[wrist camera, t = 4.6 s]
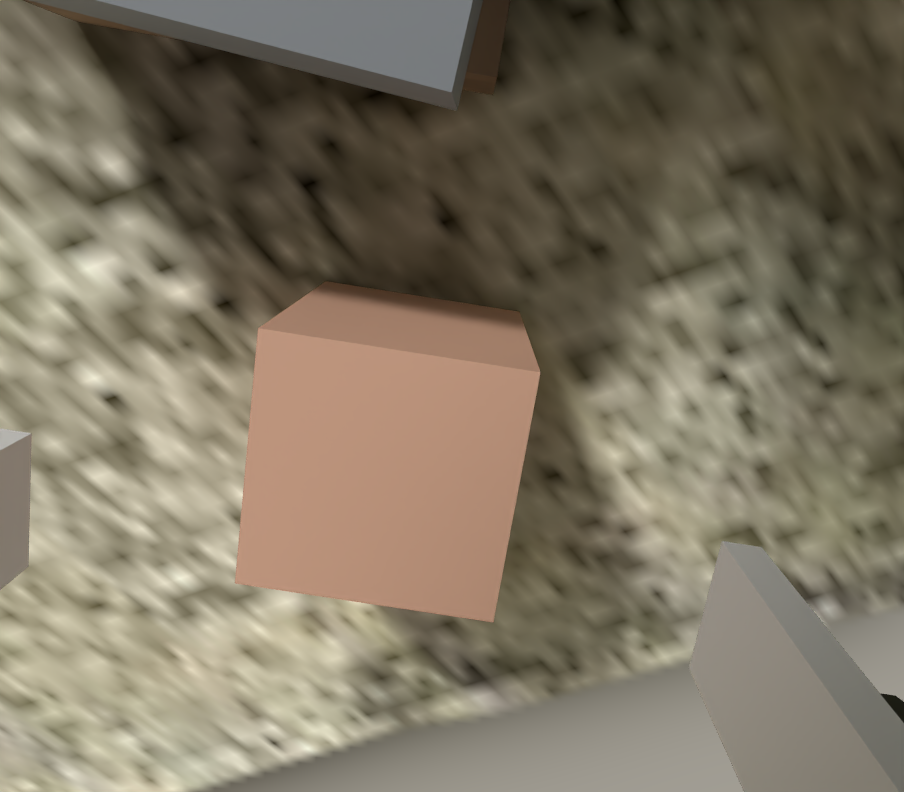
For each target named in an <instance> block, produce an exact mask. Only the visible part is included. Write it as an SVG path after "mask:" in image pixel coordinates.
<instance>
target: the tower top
mask: <svg viewBox="0 0 904 792" xmlns="http://www.w3.org/2000/svg"><path fill="white" fill-rule="evenodd" d="M30 1H34V2H37V3H41V4H45V5H49V6H53V7H57V8H61V9H64V10H68V11H72V12H76V13H80V14H84V15H88V16H92V17H95V18H99V19H103V20H107V21H111V22H115V23H119V24H123V25H126V26H130V27H134V28H138V29H142V30H146V31H150V32H153V33H157V34H161V35H165V36H169V37H173V38H177V39H181V40H184V41H188V42H192V43H196V44H200V45H204V46H208V47H212V48H215V49H219V50H223V51H227V52H231V53H235V54H239V55H242V56H246V57H250V58H254V59H258V60H262V61H266V62H270V63H273V64H277V65H281V66H285V67H289V68H293V69H297V70H300V71H304V72H308V73H312V74H316V75H320V76H324V77H328V78H331V79H335V80H339V81H343V82H347V83H351V84H355V85H359V86H362V87H366V88H370V89H374V90H378V91H382V92H386V93H389V94H393V95H397V96H401V97H405V98H409V99H413V100H417V101H420V102H424V103H428V104H432V105H436V106H440V107H444V108H448V109H451V110H455V111H457V109H458V105H459V101H460V97H461V92H462V88H463V84H464V80H465V75H466V71H467V67H468V62H469V58H470V54H471V50H472V45H473V41H474V37H475V32H476V28H477V24H478V20H479V15H480V11H481V7H482V2H483V0H30Z"/></svg>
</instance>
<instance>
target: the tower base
mask: <svg viewBox="0 0 904 792" xmlns="http://www.w3.org/2000/svg"><path fill="white" fill-rule="evenodd" d="M24 1H26V2H29V3H31V4H34V5H36V6H39V7H41V8H44V9H46V10H49V11H51V12H54V13H56V14H59V15H61V16H64V17H67V18H69V19H72V20H74V21H77V22H82V23H88V24H93V25H99V26H105V27H110V28H116V29H122V30H127V31H133V32H139V33H144V34H150V35H156V36H161V37H167V38H173V37H169V36H165V35H161V34H157V33H153V32H150V31H146V30H142V29H138V28H134V27H130V26H126V25H123V24H119V23H115V22H111V21H107V20H103V19H99V18H95V17H92V16H88V15H84V14H80V13H76V12H72V11H68V10H64V9H61V8H57V7H53V6H49V5H45V4H41V3H37V2H34V1H30V0H24ZM509 5H510V0H483V2H482V7H481V11H480V15H479V20H478V24H477V28H476V32H475V37H474V41H473V45H472V50H471V54H470V58H469V62H468V67H467V71H466V75H465V80H464V84H463V88H462V90H467V91H473V92H479V93H484V94H490V95H493V93H494V89H495V84H496V80H497V75H498V69H499V63H500V57H501V52H502V46H503V40H504V34H505V28H506V22H507V17H508V11H509ZM173 39H177V38H173ZM178 40H181V39H178Z"/></svg>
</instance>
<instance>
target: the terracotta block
mask: <svg viewBox="0 0 904 792" xmlns="http://www.w3.org/2000/svg"><path fill="white" fill-rule="evenodd" d="M540 373H541V372H540V369H539V366H538V364H537V361H536V358H535V355H534V352H533V349H532V346H531V343H530V341H529V338H528V335H527V332H526V329H525V326H524V323H523V320H522V318H521V315H520V312H518V311H512V310H505V309H499V308H493V307H486V306H480V305H474V304H467V303H461V302H455V301H448V300H442V299H436V298H429V297H423V296H417V295H410V294H404V293H398V292H391V291H385V290H379V289H372V288H366V287H360V286H353V285H347V284H341V283H334V282H328V281H325V282H324V283H323V284H321V285H320V286H318V287H317V288H315V289H314V290H312V291H311V292H310V293H308V294H307V295H305V296H304V297H302V298H301V299H300V300H298V301H297V302H295V303H294V304H292V305H291V306H289V307H288V308H287V309H285V310H284V311H282V312H281V313H279V314H278V315H276V316H275V317H274V318H272V319H271V320H269V321H268V322H266V323H265V324H264V325H262V326H261V327H259V328H258V335H257V346H256V357H255V369H254V380H253V391H252V402H251V413H250V424H249V435H248V446H247V457H246V468H245V479H244V490H243V501H242V512H241V523H240V534H239V545H238V556H237V567H236V578H235V583H236V584H243V585H249V586H256V587H263V588H269V589H276V590H282V591H289V592H296V593H302V594H309V595H315V596H322V597H329V598H335V599H342V600H349V601H355V602H362V603H368V604H375V605H382V606H388V607H395V608H401V609H408V610H415V611H421V612H428V613H434V614H441V615H448V616H454V617H461V618H467V619H474V620H481V621H487V622H493V621H494V616H495V611H496V605H497V600H498V595H499V590H500V584H501V579H502V574H503V568H504V563H505V558H506V553H507V547H508V542H509V537H510V531H511V526H512V521H513V516H514V510H515V505H516V500H517V494H518V489H519V484H520V479H521V473H522V468H523V463H524V457H525V452H526V447H527V442H528V436H529V431H530V426H531V420H532V415H533V410H534V405H535V399H536V394H537V389H538V383H539V378H540Z"/></svg>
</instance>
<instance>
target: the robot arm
mask: <svg viewBox="0 0 904 792" xmlns="http://www.w3.org/2000/svg"><path fill="white" fill-rule="evenodd" d="M31 435H32V433H26V432H20V431H13V430H7V429H0V590H1V589H2V588H3V587H4V586H6V585H7V584H8V583H9V582H10V581H12V580H13V579H14V578H15V577H16V576H18V575H19V574H20V573H21V572H22V571H24V570H25V569H26V568H27V567H28V561H29V519H30V477H31ZM689 670H690V672H691V674H692V676H693V679H694V681H695V683H696V686H697V688H698V690H699V692H700V694H701V697H702V699H703V701H704V703H705V706H706V708H707V710H708V712H709V715H710V717H711V719H712V721H713V724H714V726H715V728H716V730H717V732H718V735H719V737H720V739H721V741H722V744H723V746H724V748H725V750H726V752H727V755H728V757H729V759H730V761H731V764H732V766H733V768H734V770H735V773H736V775H737V777H738V779H739V782H740V784H741V786H742V788H743V790H744V792H904V702H903V701H902V700H900V699H899V698H898V697H896V696H893V695H887V694H880V693H879V692H878V691H877V689H876V688H875V687H874V686H873V684H872V683H871V682H870V681H869V679H868V678H867V677H866V676H865V674H864V673H863V672H862V671H861V670H860V669H859V667H858V666H857V665H856V664H855V662H854V661H853V660H852V658H851V657H850V656H849V655H848V653H847V652H846V651H845V650H844V648H843V647H842V646H841V645H840V644H839V642H838V641H837V640H836V639H835V637H834V636H833V635H832V634H831V632H830V631H829V630H828V629H827V627H826V626H825V625H824V624H823V622H822V621H821V620H820V619H819V618H818V616H817V615H816V614H815V613H814V611H813V610H812V609H811V608H810V606H809V605H808V604H807V603H806V601H805V600H804V599H803V598H802V596H801V595H800V594H799V593H798V592H797V590H796V589H795V588H794V587H793V585H792V584H791V583H790V582H789V580H788V579H787V578H786V577H785V575H784V574H783V573H782V572H781V570H780V569H779V568H778V567H777V566H776V564H775V563H774V562H773V561H772V559H771V558H770V557H769V556H768V554H767V553H766V552H765V551H764V549H763V548H762V547H757V546H750V545H744V544H738V543H731V542H725V541H722V542H721V546H720V550H719V554H718V558H717V562H716V566H715V569H714V573H713V577H712V581H711V585H710V589H709V592H708V596H707V600H706V604H705V608H704V612H703V616H702V619H701V623H700V627H699V631H698V635H697V639H696V643H695V646H694V650H693V654H692V658H691V662H690V666H689Z"/></svg>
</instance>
